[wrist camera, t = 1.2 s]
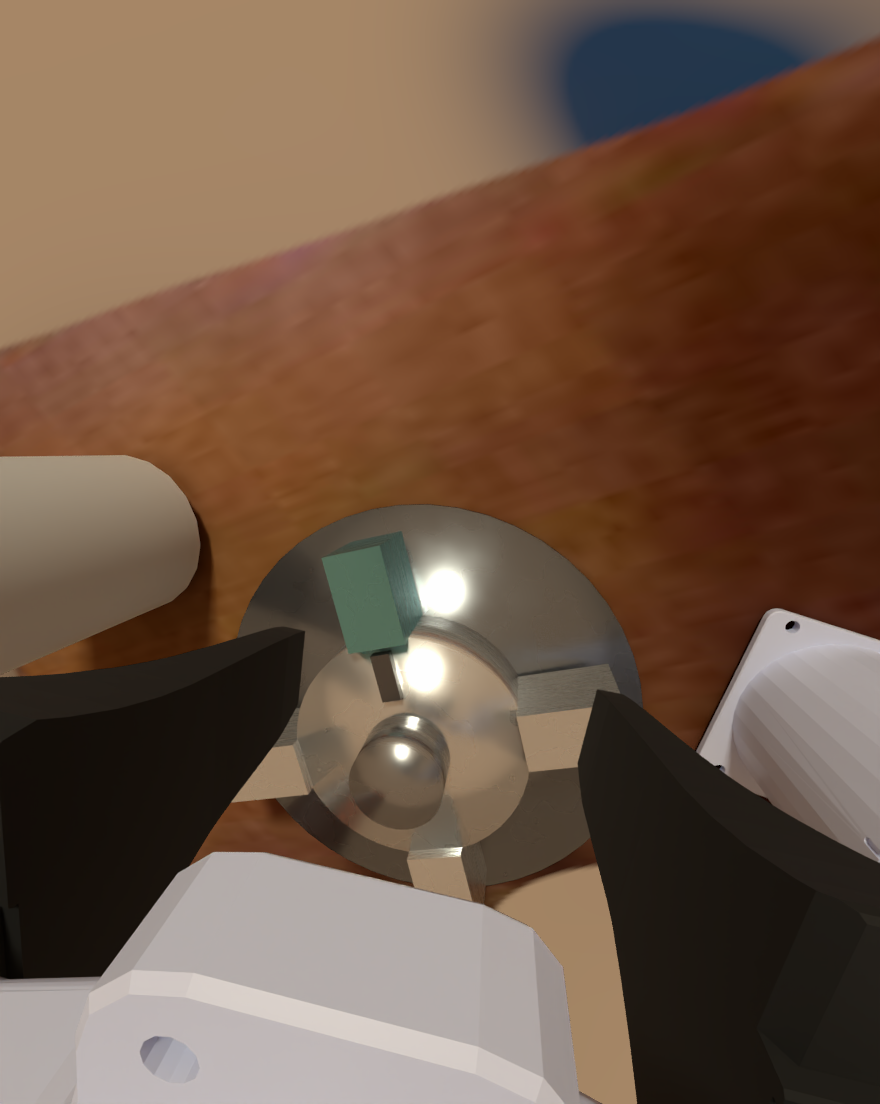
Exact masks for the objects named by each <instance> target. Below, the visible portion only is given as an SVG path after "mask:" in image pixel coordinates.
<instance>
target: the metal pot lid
mask: <svg viewBox="0 0 880 1104" xmlns="http://www.w3.org/2000/svg"><path fill="white" fill-rule="evenodd" d="M321 559H322V562H323V566H324V569H325V573H326V576H327V580H328V583H329V587H330V590H331V594H332V597H333V601H334V605H335V608H336V612H337V615H338V619H339V622H340V626H341V629H342V633H343V636H344V640H345V643H346V644H345V645H344V646H343V647H342V648H341V649H340V650H339V651H338V652H337V653H336V655H335V656H334V657H333V658H332V659H331V660H330V661H329V662H328V663H327V664H326V665H325V667H324V668H323V669H322V670H321V671H320V672H319V673H318V674H317V676H316V677H315V678H314V680H313V681H312V683H311V684H310V686H309V688H308V690H307V692H306V694H305V696H304V698H303V701H302V704H301V707H300V708H296V709H295V711H294V713H293V715H292V717H291V718H290V720H289V722H288V724H287V726H286V727H285V729H284V731H283V733H282V734H281V736H280V738H279V739H278V741H277V742H276V743H275V745H274V746H273V747H272V749H271V750H270V751H269V753H268V754H267V755H266V757H265V758H264V759H263V761H262V762H261V763H260V765H259V766H258V767H257V769H256V770H255V771H254V773H253V774H252V775H251V777H250V778H249V779H248V781H247V782H246V783H245V785H244V786H243V787H242V788H241V790H240V791H239V792H238V794H237V795H236V796H235V798H234V799H233V800H232V802H240V801H250V800H260V799H270V798H279V797H289V796H299V795H308V794H309V793H310V791H311V789H312V788H313V789H314V791H315V792H316V794H317V795H318V797H319V798H320V799H321V801H322V802H323V803H324V804H325V805H326V807H327V808H328V809H329V810H330V811H331V812H332V813H333V814H334V815H335V816H336V817H337V818H338V819H339V820H340V821H342V822H343V823H344V824H346V825H347V826H348V827H350V828H351V829H352V830H354V831H355V832H357V833H359V834H361V835H362V836H364V837H366V838H368V839H370V840H372V841H374V842H376V843H379V844H381V845H384V846H387V847H390V848H394V849H398V850H403V851H407V852H409V854H408V858H407V863H408V866H409V870H410V873H411V877H412V880H413V884H414V888H419V889H423V890H427V891H431V892H435V893H440V894H444V895H448V896H452V897H457V898H461V899H465V900H469V901H473V902H478V903H482V904H484V897H485V885H486V873H487V868H486V864H485V860H484V856H483V852H482V848H481V845H480V840H482V839H484V838H486V837H487V836H489V835H490V834H492V833H493V832H494V831H496V830H497V829H498V828H499V827H501V826H502V825H503V823H504V822H505V821H506V820H507V819H508V818H509V817H510V816H511V814H512V813H513V812H514V810H515V809H516V807H517V806H518V804H519V802H520V800H521V798H522V796H523V794H524V791H525V787H526V784H527V781H528V775H529V772H534V771H544V770H554V769H564V768H574V767H578V759H579V756H580V752H581V748H582V744H583V740H584V737H585V733H586V729H587V725H588V721H589V718H590V714H591V710H592V706H593V702H594V699H595V695H596V691H597V689H599V690H604V691H609V692H614V693H619V694H620V692H619V689H618V687H617V684H616V682H615V679H614V677H613V674H612V672H611V669H610V667H609V664H603V665H596V666H589V667H582V668H575V669H568V670H561V671H554V672H547V673H540V674H533V675H526V676H519V677H518V675H517V673H516V672H515V670H514V668H513V667H512V665H511V664H510V662H509V661H508V660H507V659H506V657H505V656H504V655H503V654H502V652H501V651H500V650H499V649H497V648H496V647H495V646H494V645H493V644H492V643H491V642H490V641H489V640H487V639H486V638H485V637H483V636H482V635H480V634H479V633H477V632H476V631H474V630H472V629H470V628H469V627H467V626H465V625H462V624H460V623H457V622H455V621H452V620H449V619H445V618H441V617H437V616H430V615H423V614H422V610H421V606H420V602H419V598H418V594H417V590H416V586H415V582H414V578H413V575H412V571H411V567H410V563H409V559H408V555H407V551H406V547H405V543H404V539H403V535H402V531H399V532H394V533H390V534H385V535H381V536H376V537H371V538H367V539H362V540H357V541H353V542H350V543H348V544H347V545H345V546H343V547H341V548H339V549H337V550H335V551H333V552H332V553H330V554H328V555H326V556H324V557H322V558H321ZM400 715H405V716H413V717H416V718H419V719H422V720H424V721H426V722H428V723H429V724H431V725H432V726H433V727H435V728H436V729H437V730H438V731H439V732H440V734H441V735H442V736H443V738H444V739H445V741H446V743H447V745H448V748H449V752H450V767H449V771H448V776H447V780H446V784H445V789H444V793H443V797H442V802H441V805H440V808H439V810H438V811H437V813H436V815H435V816H434V817H433V818H432V819H431V820H430V821H428V822H427V823H425V824H424V825H422V826H419V827H417V828H413V829H407V830H399V829H392V828H388V827H385V826H382V825H380V824H378V823H376V822H374V821H372V820H371V819H370V818H368V817H367V816H366V815H365V814H364V813H363V812H362V811H361V810H360V809H359V808H358V806H357V805H356V803H355V802H354V800H353V798H352V795H351V792H350V788H349V774H350V770H351V767H352V765H353V763H354V761H355V759H356V757H357V756H358V754H359V752H360V750H361V748H362V746H363V745H364V743H365V741H366V739H367V737H368V735H369V733H370V732H371V730H372V729H373V728H374V727H375V726H376V725H377V724H378V723H379V722H381V721H382V720H384V719H386V718H389V717H393V716H400Z"/></svg>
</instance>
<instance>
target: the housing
mask: <svg viewBox="0 0 880 1104" xmlns="http://www.w3.org/2000/svg"><path fill="white" fill-rule="evenodd" d="M399 531H402V535H403V539H404V543H405V547H406V551H407V555H408V559H409V563H410V567H411V571H412V575H413V578H414V582H415V586H416V590H417V594H418V598H419V602H420V606H421V610H422V614H423V615H430V616H437V617H441V618H445V619H449V620H452V621H455V622H457V623H460V624H462V625H465V626H467V627H469V628H470V629H472V630H474V631H476V632H477V633H479V634H480V635H482V636H483V637H485V638H486V639H487V640H489V641H490V642H491V643H492V644H493V645H494V646H495V647H496V648H497V649H499V650H500V651H501V652H502V654H503V655H504V656H505V657H506V659H507V660H508V661H509V662H510V664H511V665H512V667H513V668H514V670H515V672H516V673H517V675H518V677H519V676H526V675H533V674H540V673H547V672H554V671H561V670H568V669H575V668H582V667H589V666H596V665H603V664H609V667H610V669H611V672H612V674H613V677H614V679H615V682H616V684H617V687H618V689H619V692H620V694H624V695H625V696H627V697H628V698H630V699H631V700H633V701H634V702H635V703H637V704H638V705H639V706H640V707H642V708H643V704H642V694H641V685H640V680H639V676H638V672H637V668H636V664H635V660H634V656H633V654H632V651H631V649H630V646H629V644H628V642H627V639H626V637H625V634H624V632H623V630H622V628H621V626H620V624H619V623H618V621H617V619H616V618H615V616H614V614H613V612H612V611H611V609H610V607H609V606H608V604H607V602H606V601H605V600H604V599H603V597H602V596H601V595H600V594H599V592H598V591H597V590H596V589H595V587H594V586H593V585H592V584H591V582H590V581H589V580H588V579H587V578H586V577H585V576H584V575H583V574H582V573H581V572H580V571H579V570H578V569H577V568H576V567H575V566H574V565H573V564H572V563H571V562H570V561H569V560H567V559H566V558H565V557H564V556H562V555H561V554H560V553H558V552H557V551H556V550H554V549H553V548H551V547H550V546H549V545H547V544H546V543H545V542H543V541H542V540H540V539H538V538H537V537H535V536H533V535H531V534H529V533H527V532H526V531H524V530H522V529H520V528H518V527H516V526H514V525H512V524H509V523H507V522H504V521H502V520H499V519H497V518H494V517H491V516H489V515H486V514H482V513H478V512H474V511H470V510H466V509H462V508H457V507H449V506H440V505H431V504H418V505H396V506H390V507H383V508H377V509H371V510H368V511H365V512H362V513H358V514H355V515H352V516H348V517H345V518H343V519H341V520H339V521H337V522H334V523H332V524H330V525H328V526H326V527H324V528H322V529H320V530H318V531H317V532H315V533H314V534H312V535H310V536H309V537H307V538H306V539H304V540H303V541H301V542H300V543H298V544H297V545H296V546H295V547H294V548H293V549H292V550H290V551H289V552H288V553H287V554H286V555H285V556H284V557H283V558H281V559H280V560H279V561H278V563H277V564H276V565H275V566H274V567H273V569H272V570H271V571H270V572H269V573H268V575H267V576H266V577H265V578H264V580H263V581H262V583H261V584H260V586H259V588H258V589H257V591H256V592H255V594H254V596H253V597H252V599H251V601H250V603H249V606H248V608H247V610H246V613H245V615H244V617H243V620H242V622H241V626H240V630H239V633H238V637H237V638H239V637H242V636H246V635H249V634H252V633H256V632H259V631H262V630H266V629H270V628H274V627H280V626H283V627H288V628H293V629H298V630H303V631H305V639H304V650H303V660H302V670H301V680H300V691H299V701H298V705H297V707H296V708H300V707H301V704H302V701H303V698H304V696H305V694H306V692H307V690H308V688H309V686H310V684H311V683H312V681H313V680H314V678H315V677H316V676H317V674H318V673H319V672H320V671H321V670H322V669H323V668H324V667H325V665H326V664H327V663H328V662H329V661H330V660H331V659H332V658H333V657H334V656H335V655H336V653H337V652H338V651H339V650H340V649H341V648H342V647H343V646H344V645H345V644H346V643H345V640H344V636H343V633H342V629H341V626H340V622H339V619H338V615H337V612H336V608H335V605H334V601H333V597H332V594H331V590H330V587H329V583H328V580H327V576H326V573H325V569H324V566H323V562H322V559H321V558H322V557H324V556H326V555H328V554H330V553H332V552H333V551H335V550H337V549H339V548H341V547H343V546H345V545H347V544H348V543H350V542H353V541H357V540H362V539H367V538H371V537H376V536H381V535H385V534H390V533H394V532H399ZM449 767H450V752H449V748H448V745H447V743H446V741H445V739H444V738H443V736H442V735H441V734H440V732H439V731H438V730H437V729H436V728H435V727H433V726H432V725H431V724H429V723H428V722H426V721H424V720H422V719H419V718H416V717H413V716H405V715H400V716H393V717H389V718H386V719H384V720H382V721H381V722H379V723H378V724H377V725H376V726H375V727H374V728H373V729H372V730H371V732H370V733H369V735H368V737H367V739H366V741H365V743H364V745H363V746H362V748H361V750H360V752H359V754H358V756H357V757H356V759H355V761H354V763H353V765H352V767H351V770H350V774H349V788H350V792H351V795H352V798H353V800H354V802H355V803H356V805H357V806H358V808H359V809H360V810H361V811H362V812H363V813H364V814H365V815H366V816H367V817H368V818H370V819H371V820H372V821H374V822H376V823H378V824H380V825H382V826H385V827H388V828H392V829H399V830H407V829H413V828H417V827H419V826H422V825H424V824H425V823H427V822H428V821H430V820H431V819H432V818H433V817H434V816H435V815H436V813H437V811H438V810H439V808H440V805H441V802H442V797H443V793H444V789H445V784H446V780H447V776H448V771H449ZM276 800H277V801H278V802H279V803H280V804H281V805H282V807H283V808H284V809H285V810H286V811H287V812H288V813H289V815H290V816H291V817H292V818H293V819H294V820H295V821H296V822H298V823H299V824H300V825H301V826H302V827H303V828H304V829H305V830H306V831H307V832H308V833H309V834H311V835H312V836H313V837H315V838H316V839H317V840H319V841H320V842H321V843H323V844H324V845H325V846H327V847H328V848H330V849H331V850H333V851H335V852H336V853H338V854H340V855H341V856H343V857H345V858H346V859H348V860H350V861H352V862H354V863H356V864H358V865H360V866H363V867H365V868H367V869H369V870H371V871H374V872H377V873H380V874H383V875H385V876H388V877H391V878H394V879H398V880H402V881H407V882H411V883H413V880H412V877H411V873H410V870H409V866H408V863H407V858H408V854H409V852H407V851H403V850H398V849H394V848H390V847H387V846H384V845H381V844H379V843H376V842H374V841H372V840H370V839H368V838H366V837H364V836H362V835H361V834H359V833H357V832H355V831H354V830H352V829H351V828H350V827H348V826H347V825H346V824H344V823H343V822H342V821H340V820H339V819H338V818H337V817H336V816H335V815H334V814H333V813H332V812H331V811H330V810H329V809H328V808H327V807H326V805H325V804H324V803H323V802H322V801H321V799H320V798H319V797H318V795H317V794H316V792H315V791H314V789H313V788H312V789H311V791H310V793H309V794H308V795H299V796H289V797H279V798H276ZM589 838H590V833H589V829H588V825H587V821H586V817H585V813H584V809H583V805H582V799H581V791H580V783H579V773H578V767H574V768H564V769H554V770H544V771H534V772H529V775H528V781H527V784H526V787H525V791H524V794H523V796H522V798H521V800H520V802H519V804H518V806H517V807H516V809H515V810H514V812H513V813H512V814H511V816H510V817H509V818H508V819H507V820H506V821H505V822H504V823H503V825H502V826H501V827H499V828H498V829H497V830H496V831H494V832H493V833H492V834H490V835H489V836H487V837H486V838H484V839H482V840H480V845H481V848H482V852H483V856H484V860H485V864H486V868H487V873H486V885H494V884H499V883H503V882H507V881H511V880H516V879H519V878H522V877H524V876H527V875H530V874H532V873H535V872H538V871H541V870H542V869H544V868H546V867H548V866H550V865H552V864H554V863H556V862H558V861H559V860H561V859H563V858H564V857H566V856H567V855H569V854H570V853H571V852H573V851H574V850H576V849H577V848H578V847H580V846H581V845H582V844H584V843H585V842H586V841H587V840H588V839H589ZM486 885H485V886H486Z"/></svg>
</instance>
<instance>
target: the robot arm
mask: <svg viewBox="0 0 880 1104" xmlns="http://www.w3.org/2000/svg"><path fill="white" fill-rule="evenodd" d="M790 621H794V622H795V624H794V626H793V628H791V629H789V630H786V629H785V627H786V624H787V623H788V622H790ZM304 639H305V631H303V630H298V629H293V628H288V627H283V626H280V627H274V628H270V629H266V630H262V631H259V632H256V633H252V634H249V635H246V636H242V637H239V638H236V639H233V640H229V641H226V642H223V643H220V644H216V645H213V646H209V647H206V648H202V649H198V650H195V651H191V652H187V653H183V654H180V655H176V656H172V657H168V658H163V659H159V660H154V661H149V662H144V663H138V664H133V665H128V666H122V667H115V668H107V669H99V670H91V671H82V672H74V673H66V674H53V675H39V676H21V677H0V1104H602V1103H600V1102H598V1101H596V1100H594V1099H593V1098H591V1097H589V1096H587V1095H585V1094H584V1093H582V1092H580V1091H579V1090H578V1083H577V1074H576V1067H575V1059H574V1050H573V1042H572V1035H571V1026H570V1019H569V1011H568V1002H567V994H566V986H565V980H564V971H563V966H562V965H561V964H560V963H559V961H558V960H557V959H556V958H555V956H554V955H553V954H552V952H551V951H550V950H549V949H548V947H547V946H546V945H545V943H544V942H543V941H542V940H541V938H540V937H539V936H538V935H537V933H536V932H535V931H534V929H533V928H531V927H529V926H528V925H526V924H524V923H522V922H520V921H517V920H515V919H513V918H511V917H509V916H507V915H505V914H503V913H501V912H499V911H496V910H494V909H492V908H490V907H488V906H486V905H484V904H482V903H478V902H473V901H469V900H465V899H461V898H457V897H452V896H448V895H444V894H440V893H435V892H431V891H427V890H423V889H419V888H414V887H410V886H406V885H402V884H397V883H393V882H389V881H385V880H381V879H376V878H372V877H368V876H364V875H360V874H355V873H351V872H347V871H343V870H338V869H334V868H330V867H326V866H322V865H317V864H313V863H309V862H305V861H300V860H296V859H292V858H288V857H284V856H279V855H275V854H271V853H267V852H213V853H211V854H209V855H208V856H206V857H204V858H203V859H201V860H199V861H198V862H196V863H194V864H192V865H191V866H189V865H190V864H191V862H192V860H193V859H194V857H195V856H196V854H197V852H198V851H199V849H200V847H201V846H202V844H203V842H204V841H205V839H206V838H207V836H208V834H209V833H210V831H211V830H212V828H213V827H214V825H215V824H216V822H217V821H218V819H219V818H220V817H221V815H222V814H223V812H224V811H225V810H226V808H227V807H228V806H229V804H230V803H231V802H232V800H233V799H234V798H235V796H236V795H237V794H238V792H239V791H240V790H241V788H242V787H243V786H244V785H245V783H246V782H247V781H248V779H249V778H250V777H251V775H252V774H253V773H254V771H255V770H256V769H257V767H258V766H259V765H260V763H261V762H262V761H263V759H264V758H265V757H266V755H267V754H268V753H269V751H270V750H271V749H272V747H273V746H274V745H275V743H276V742H277V741H278V739H279V738H280V736H281V734H282V733H283V731H284V729H285V727H286V726H287V724H288V722H289V720H290V718H291V717H292V715H293V713H294V711H295V709H296V707H297V705H298V701H299V691H300V680H301V670H302V660H303V650H304ZM716 765H722V766H721V768H720V769H718V768H717V767H716ZM578 773H579V783H580V791H581V799H582V805H583V809H584V813H585V817H586V821H587V825H588V829H589V833H590V837H591V841H592V844H593V848H594V852H595V856H596V860H597V864H598V867H599V871H600V875H601V879H602V883H603V886H604V890H605V894H606V898H607V902H608V907H609V911H610V916H611V920H612V925H613V931H614V937H615V944H616V950H617V956H618V962H619V969H620V975H621V981H622V989H623V996H624V1003H625V1009H626V1017H627V1025H628V1031H629V1039H630V1047H631V1055H632V1063H633V1072H634V1080H635V1089H636V1097H637V1104H880V640H877V639H874V638H871V637H868V636H865V635H861V634H858V633H855V632H852V631H849V630H846V629H843V628H839V627H836V626H833V625H830V624H827V623H824V622H821V621H817V620H814V619H811V618H808V617H805V616H802V615H798V614H795V613H792V612H789V611H786V610H783V609H777V608H775V609H771V610H769V611H767V612H766V613H765V614H764V616H763V618H762V620H761V622H760V624H759V626H758V628H757V630H756V632H755V634H754V636H753V638H752V640H751V642H750V644H749V646H748V648H747V650H746V652H745V654H744V656H743V658H742V660H741V662H740V664H739V666H738V668H737V670H736V672H735V674H734V676H733V678H732V680H731V682H730V684H729V686H728V688H727V690H726V692H725V694H724V696H723V698H722V700H721V702H720V704H719V706H718V708H717V710H716V712H715V714H714V716H713V718H712V720H711V722H710V724H709V726H708V728H707V731H706V733H705V735H704V737H703V739H702V741H701V743H700V745H699V747H698V749H697V751H694V750H693V749H692V748H690V747H689V746H688V745H687V744H685V743H684V742H683V741H682V740H680V739H679V738H678V737H677V736H676V735H674V734H673V733H672V732H671V731H669V730H668V729H667V728H666V727H665V726H663V725H662V724H661V723H660V722H659V721H657V720H656V719H655V718H654V717H653V716H651V715H650V714H649V713H648V712H647V711H645V710H644V709H643V708H642V707H640V706H639V705H638V704H637V703H635V702H634V701H633V700H631V699H630V698H628V697H627V696H625V695H624V694H619V693H614V692H609V691H604V690H599V689H597V691H596V695H595V699H594V702H593V706H592V710H591V714H590V718H589V721H588V725H587V729H586V733H585V737H584V740H583V744H582V748H581V752H580V756H579V759H578ZM756 794H757V795H756ZM758 795H760V796H763V797H766V798H768V799H769V801H770V802H771V804H770V803H769V802H767V801H766V800H764V799H762V798H761V797H759V796H758Z"/></svg>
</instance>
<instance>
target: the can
mask: <svg viewBox="0 0 880 1104" xmlns="http://www.w3.org/2000/svg"><path fill="white" fill-rule="evenodd" d="M199 552H200V538H199V532H198V525H197V520H196V517H195V515H194V513H193V511H192V509H191V506H190V504H189V502H188V500H187V497H186V496H185V495H184V493H183V492H182V491H181V490H180V489H179V487H178V486H177V485H176V484H175V482H174V481H173V480H172V479H171V478H170V476H168V475H167V474H165V473H164V472H162V471H161V470H160V469H158V468H157V467H155V466H154V465H152V464H151V463H149V462H147V461H143V460H140V459H137V458H133V457H130V456H127V455H111V456H32V457H0V675H2V674H4V673H7V672H9V671H11V670H14V669H16V668H18V667H21V666H23V665H25V664H27V663H30V662H32V661H34V660H37V659H39V658H41V657H44V656H46V655H48V654H51V653H53V652H55V651H58V650H60V649H62V648H65V647H67V646H69V645H72V644H74V643H76V642H79V641H81V640H83V639H85V638H88V637H90V636H92V635H95V634H97V633H99V632H102V631H104V630H106V629H109V628H111V627H113V626H116V625H118V624H120V623H123V622H125V621H127V620H130V619H132V618H134V617H137V616H139V615H141V614H143V613H146V612H148V611H150V610H153V609H155V608H157V607H160V606H162V605H164V604H167V603H169V602H171V601H173V600H174V599H175V598H176V597H177V596H178V595H179V594H181V593H182V592H183V591H184V590H185V589H186V588H187V587H188V585H189V583H190V581H191V579H192V577H193V575H194V573H195V571H196V570H197V566H198V559H199Z"/></svg>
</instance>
